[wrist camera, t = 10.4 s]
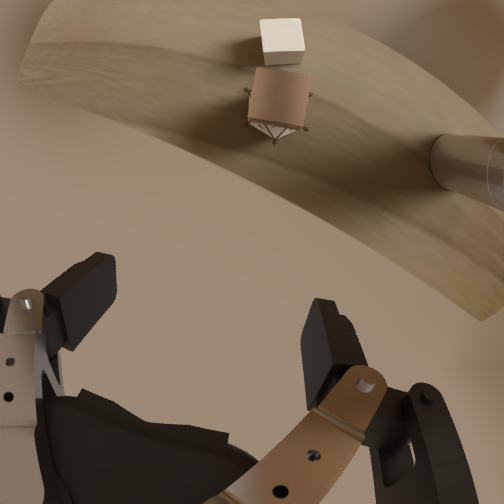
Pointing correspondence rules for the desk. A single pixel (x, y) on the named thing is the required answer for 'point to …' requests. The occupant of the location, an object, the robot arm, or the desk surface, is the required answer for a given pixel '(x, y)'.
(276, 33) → the white block
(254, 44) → the desk surface
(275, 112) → the walnut block
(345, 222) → the desk surface
